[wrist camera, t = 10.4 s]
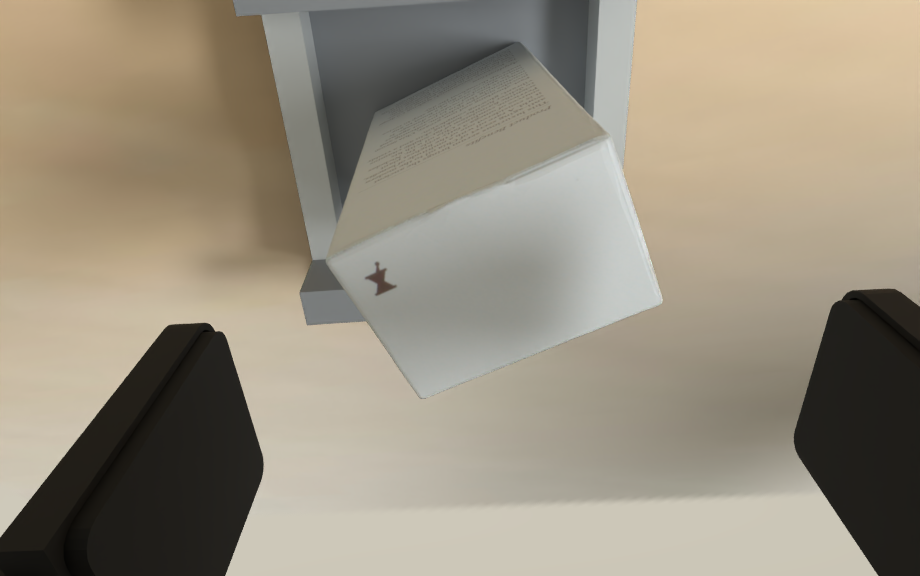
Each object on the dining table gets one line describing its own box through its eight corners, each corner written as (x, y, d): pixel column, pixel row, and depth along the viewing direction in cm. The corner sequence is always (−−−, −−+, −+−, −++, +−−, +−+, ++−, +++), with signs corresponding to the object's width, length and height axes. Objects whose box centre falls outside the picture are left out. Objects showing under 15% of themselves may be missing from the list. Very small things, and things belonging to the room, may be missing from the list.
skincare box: (424, 207, 24) (413, 408, 13) (372, 110, 22) (312, 259, 11) (565, 143, 23) (672, 309, 12) (524, 35, 21) (609, 124, 10)
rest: (622, -89, 20) (673, -99, 15) (599, 255, 26) (630, 316, 22) (265, -64, 20) (217, -67, 15) (331, 274, 26) (310, 338, 22)
